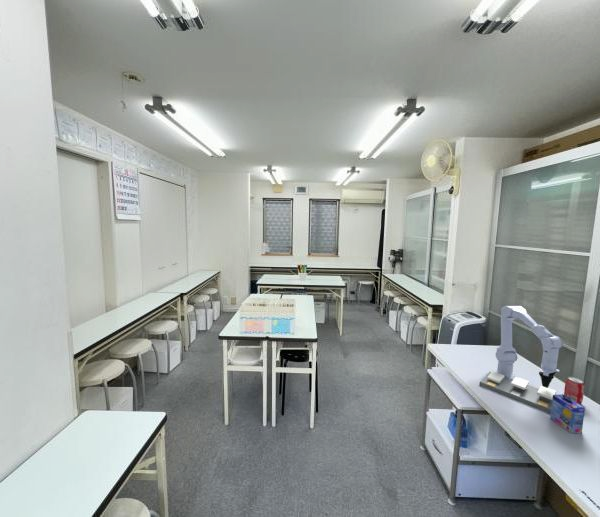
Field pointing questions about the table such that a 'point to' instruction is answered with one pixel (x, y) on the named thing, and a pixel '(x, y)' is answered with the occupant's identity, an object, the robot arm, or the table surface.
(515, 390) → the switch panel
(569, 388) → the soda can
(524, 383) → the switch
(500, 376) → the switch
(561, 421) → the ink cartridge box
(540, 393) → the switch
